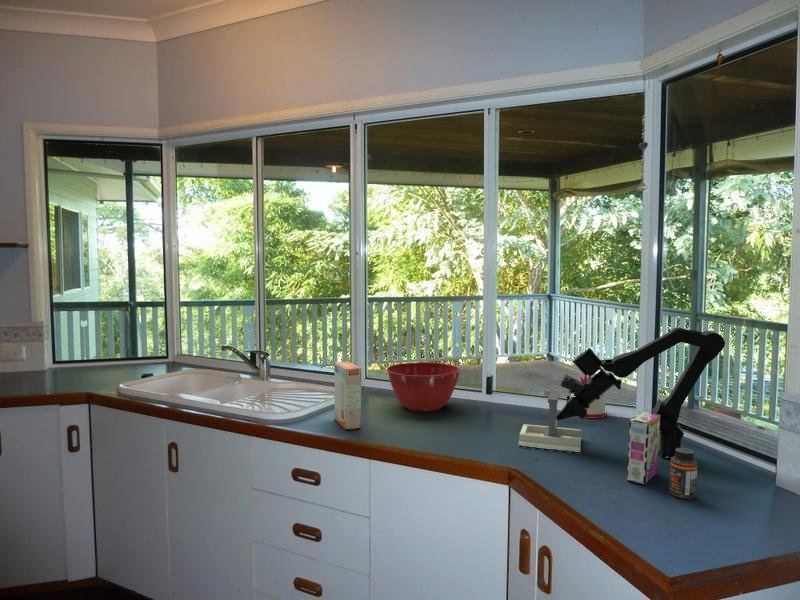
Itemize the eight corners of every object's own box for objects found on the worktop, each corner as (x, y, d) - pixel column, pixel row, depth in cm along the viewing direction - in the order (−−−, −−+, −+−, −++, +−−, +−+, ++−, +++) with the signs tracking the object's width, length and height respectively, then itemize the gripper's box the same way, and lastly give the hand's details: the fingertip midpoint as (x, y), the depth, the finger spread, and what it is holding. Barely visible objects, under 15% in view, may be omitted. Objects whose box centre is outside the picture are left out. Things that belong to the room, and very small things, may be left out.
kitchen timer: (608, 419, 202) (610, 378, 201) (569, 417, 205) (570, 376, 204) (602, 409, 216) (604, 371, 215) (565, 407, 219) (566, 369, 218)
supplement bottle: (663, 492, 139) (665, 447, 139) (681, 488, 141) (683, 444, 141) (683, 501, 134) (685, 455, 133) (701, 498, 136) (703, 452, 135)
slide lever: (561, 434, 179) (562, 393, 178) (560, 442, 171) (561, 400, 170) (545, 432, 181) (546, 392, 180) (543, 440, 173) (544, 398, 172)
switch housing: (580, 439, 180) (581, 428, 180) (580, 453, 167) (580, 441, 167) (523, 433, 186) (523, 423, 185) (518, 446, 172) (519, 435, 172)
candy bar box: (646, 486, 143) (648, 423, 142) (626, 481, 146) (628, 419, 145) (658, 473, 151) (661, 413, 150) (639, 469, 155) (641, 410, 153)
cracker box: (362, 428, 190) (362, 367, 188) (344, 430, 188) (344, 368, 186) (350, 417, 203) (350, 360, 201) (333, 419, 201) (333, 361, 199)
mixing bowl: (378, 401, 227) (378, 363, 226) (443, 396, 236) (444, 359, 235) (398, 420, 200) (399, 377, 199) (472, 414, 209) (472, 372, 208)
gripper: (577, 361, 181) (541, 392, 185) (576, 372, 163) (536, 406, 168) (602, 388, 179) (565, 418, 183) (604, 402, 161) (562, 435, 166)
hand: (557, 418), depth 175 cm, fingers closed, pressing on slide lever
